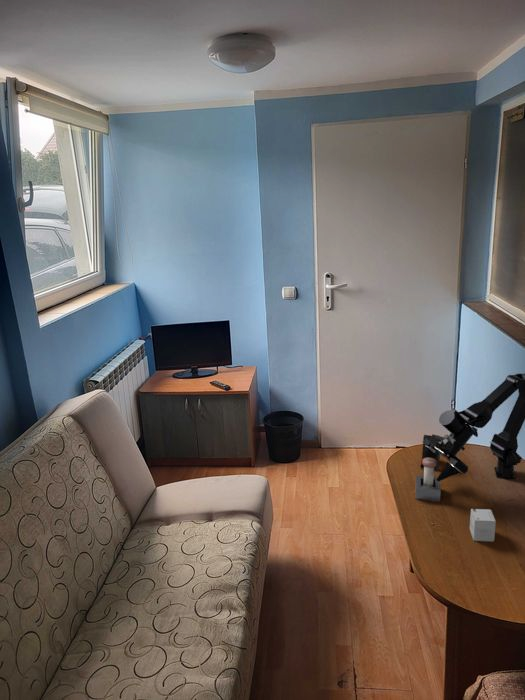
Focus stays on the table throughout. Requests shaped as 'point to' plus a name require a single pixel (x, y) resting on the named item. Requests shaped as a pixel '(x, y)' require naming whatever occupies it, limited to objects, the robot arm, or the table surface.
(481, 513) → the skincare box
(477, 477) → the table surface
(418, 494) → the block
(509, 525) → the table surface
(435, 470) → the phone stand
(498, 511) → the table surface
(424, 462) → the pin
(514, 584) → the table surface
